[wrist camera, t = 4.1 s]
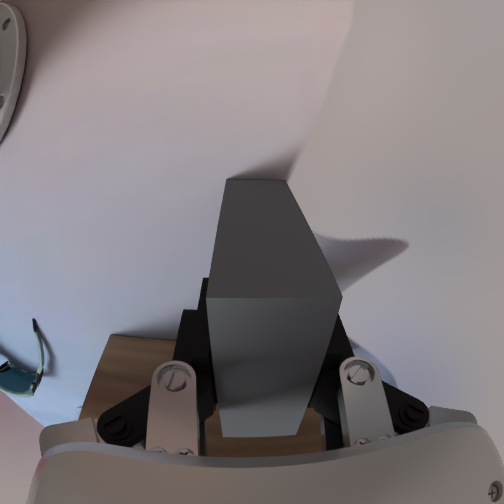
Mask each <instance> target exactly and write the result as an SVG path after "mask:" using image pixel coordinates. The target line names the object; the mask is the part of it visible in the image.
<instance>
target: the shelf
mask: <svg viewBox="0 0 504 504" xmlns="http://www.w3.org/2000/svg"><path fill="white" fill-rule="evenodd" d="M175 345H176V340H164V339H150V338H138V337H128V336H118V335H110V337H109V339H108V342H107V344H106V346H105V349H104V351H103V354H102V356H101V358H100V361H99V363H98V366H97V369H96V371H95V374H94V376H93V379H92V382H91V384H90V387H89V390H88V392H87V395H86V398H85V401H84V404H83V406H82V409H81V412H80V415H79V418H78V420H81V419H86V418H92V419H98V418H99V417H100V416H101V414H102V413H104V412H105V411H106V410H108V409H110V408H111V407H113V406H115V405H117V404H118V403H120V402H122V401H124V400H125V399H127V398H129V397H130V396H132V395H134V394H136V393H137V392H139V391H141V390H142V389H144V388H146V387H147V386H149V385H151V383H152V376H153V373H154V371H155V370H156V369H157V367H159V366H160V365H161V364H163V363H166V362H168V361H172V359H173V354H174V349H175ZM206 430H207V447H208V457H274V456H288V455H299V454H308V453H316V452H322V441H321V427H320V414H319V413H317V412H316V411H314V408H308V407H307V408H306V411H305V413H304V416H303V418H302V421H301V423H300V426H299V428H298V431H297V433H296V435H287V436H271V437H223V433H222V427H221V420H220V414H219V407H218V404H217V403H216V411H214V414H213V415H212V416H210V417H209V418H208V419H206Z"/></svg>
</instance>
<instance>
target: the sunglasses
mask: <svg viewBox="0 0 504 504" xmlns="http://www.w3.org/2000/svg"><path fill="white" fill-rule="evenodd" d="M32 320H33V329H34V333H35V337H36V340H37V345H38V350H39V368H38V370H37V373H30V372H26V371H24V370H21V369H19V368H17V367H16V366H15V365H13V364H8V363H9V362H8V361H7V362H5V363H4V364H2V365H1V366H0V390H1V391H2V392H4V393H7V394H10V395H12V396H17V397H30V396H34V392H35V390H36V389H37V387H38V386H39V384H40V382H41V379H42V375H43V365H44V351H43V343H42V340H41V336H40V333H39V331H38V328H37V326H36V322H35V320H34V319H32Z"/></svg>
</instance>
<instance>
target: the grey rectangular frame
mask: <svg viewBox="0 0 504 504" xmlns="http://www.w3.org/2000/svg"><path fill="white" fill-rule="evenodd" d="M341 301H342V294H341V292H340V290H339V287H338V285H337V283H336V281H335V279H334V276H333V274H332V272H331V270H330V268H329V266H328V264H327V262H326V259H325V257H324V255H323V253H322V251H321V249H320V247H319V245H318V243H317V241H316V239H315V237H314V235H313V233H312V231H311V229H310V227H309V225H308V223H307V221H306V219H305V217H304V215H303V213H302V211H301V209H300V207H299V206H298V203H297V202H296V200H295V198H294V196H293V194H292V192H291V190H290V188H289V186H288V185H287V183H286V181H285V180H257V179H226V184H225V190H224V195H223V200H222V206H221V211H220V216H219V222H218V228H217V233H216V239H215V245H214V251H213V257H212V263H211V269H210V275H209V281H208V288H207V294H206V304H207V315H208V325H209V334H210V344H211V352H212V361H213V369H214V377H215V385H216V392H217V400H218V407H219V414H220V420H221V427H222V433H223V437H271V436H287V435H296V433H297V431H298V428H299V426H300V423H301V421H302V418H303V416H304V413H305V411H306V408H307V406H308V403H309V400H310V398H311V395H312V392H313V389H314V387H315V384H316V381H317V378H318V375H319V373H320V370H321V367H322V364H323V361H324V358H325V355H326V352H327V348H328V345H329V342H330V339H331V336H332V332H333V329H334V326H335V322H336V319H337V315H338V312H339V308H340V304H341Z"/></svg>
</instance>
